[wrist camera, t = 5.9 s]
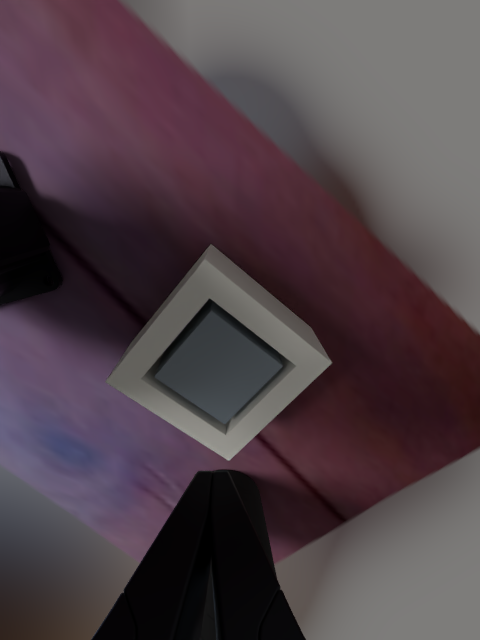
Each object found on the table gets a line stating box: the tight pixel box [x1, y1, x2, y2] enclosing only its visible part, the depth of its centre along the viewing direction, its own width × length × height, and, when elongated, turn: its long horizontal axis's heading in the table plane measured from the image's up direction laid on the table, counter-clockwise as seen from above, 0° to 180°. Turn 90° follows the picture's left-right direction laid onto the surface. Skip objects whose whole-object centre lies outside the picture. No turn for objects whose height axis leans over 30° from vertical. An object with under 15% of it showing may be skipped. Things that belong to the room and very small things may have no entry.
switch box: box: [105, 244, 332, 461], centre depth 16 cm, size 7×7×4 cm
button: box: [154, 298, 283, 424], centre depth 16 cm, size 4×4×3 cm
